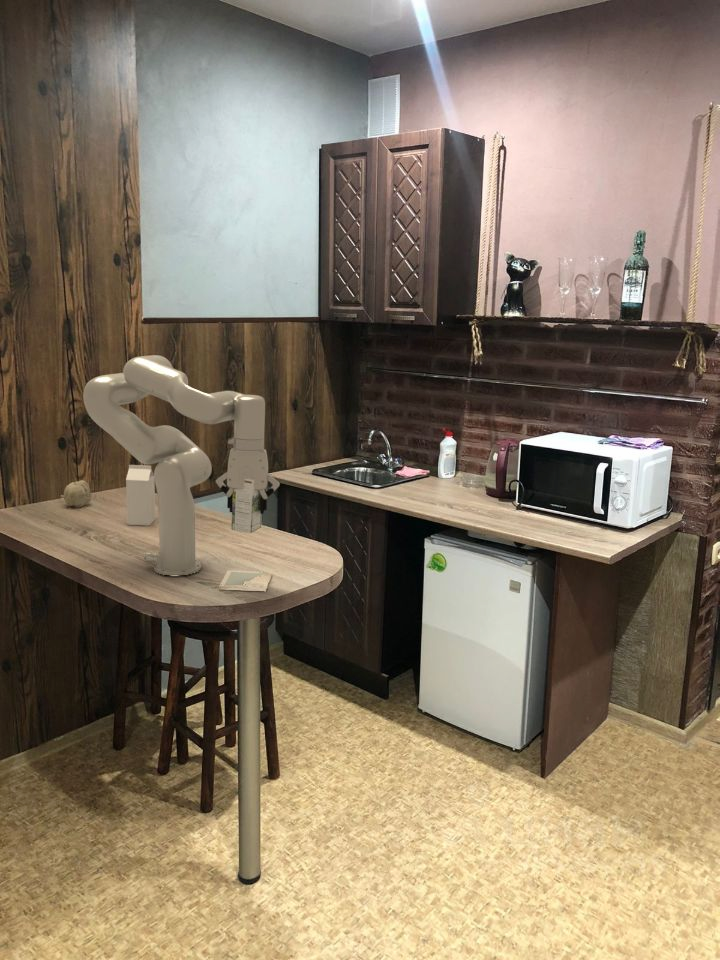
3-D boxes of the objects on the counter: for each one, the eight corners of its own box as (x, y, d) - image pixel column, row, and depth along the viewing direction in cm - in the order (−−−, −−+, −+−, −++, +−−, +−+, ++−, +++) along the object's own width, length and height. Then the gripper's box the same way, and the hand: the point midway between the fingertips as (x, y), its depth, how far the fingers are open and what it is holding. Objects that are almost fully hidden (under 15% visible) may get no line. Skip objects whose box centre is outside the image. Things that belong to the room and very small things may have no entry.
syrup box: (241, 524, 209) (243, 471, 206) (261, 528, 207) (263, 474, 204) (231, 530, 204) (232, 475, 200) (251, 534, 202) (253, 478, 199)
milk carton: (149, 526, 254) (148, 468, 250) (127, 525, 254) (125, 467, 250) (155, 520, 261) (154, 463, 257) (133, 519, 261) (132, 462, 257)
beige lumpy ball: (89, 510, 277) (98, 483, 277) (82, 513, 269) (92, 485, 268) (63, 501, 276) (72, 474, 276) (55, 503, 268) (65, 476, 268)
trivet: (219, 590, 203) (219, 586, 202) (227, 573, 214) (227, 570, 214) (266, 592, 203) (266, 588, 202) (272, 575, 214) (272, 572, 214)
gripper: (211, 445, 197) (210, 513, 201) (281, 449, 197) (279, 517, 201) (217, 439, 204) (215, 505, 208) (284, 443, 204) (282, 509, 208)
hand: (247, 511), depth 204 cm, fingers closed on syrup box, 7 cm apart
